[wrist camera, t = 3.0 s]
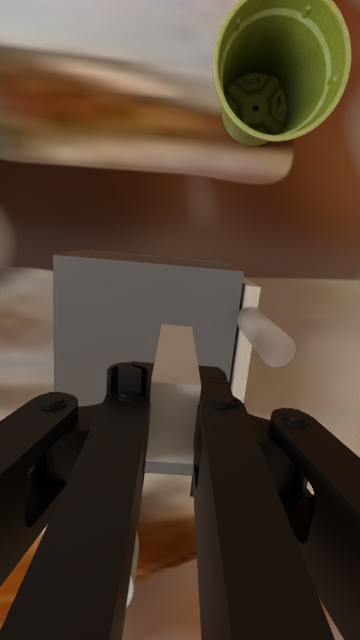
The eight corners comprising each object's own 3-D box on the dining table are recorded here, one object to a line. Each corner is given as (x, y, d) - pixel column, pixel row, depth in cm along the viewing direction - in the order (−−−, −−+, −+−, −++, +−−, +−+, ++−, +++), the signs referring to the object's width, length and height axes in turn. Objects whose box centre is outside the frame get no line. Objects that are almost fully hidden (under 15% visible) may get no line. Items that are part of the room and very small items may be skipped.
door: (204, 418, 38) (227, 557, 21) (221, 271, 34) (266, 304, 17) (221, 419, 38) (257, 559, 22) (240, 273, 34) (304, 307, 17)
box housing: (85, 408, 38) (55, 467, 28) (88, 249, 33) (53, 254, 24) (205, 416, 38) (216, 477, 29) (224, 261, 34) (244, 271, 24)
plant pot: (211, 174, 32) (225, 152, 23) (194, 63, 30) (202, -5, 21) (307, 155, 32) (355, 125, 23) (297, 42, 29) (347, -36, 21)
